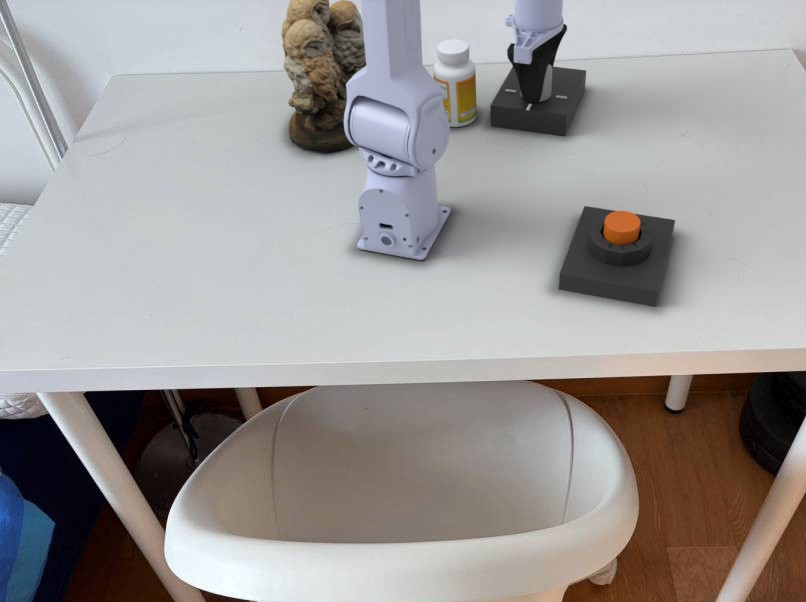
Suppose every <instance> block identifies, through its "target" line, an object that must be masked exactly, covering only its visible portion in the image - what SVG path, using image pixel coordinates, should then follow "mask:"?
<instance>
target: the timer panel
mask: <svg viewBox="0 0 806 602" xmlns="http://www.w3.org/2000/svg"><path fill="white" fill-rule="evenodd" d="M586 79H587V70H586V69H578V68H569V67H561V66H553V70H552V88H551V96H550V98H548V99H547V100H544V101H540V102H538V103H534V102H526V101H523V98H522V97H521V95H520V86H519V81H518V78H517V74H516V72H515V69H514V67H513V66H512V67H511V69H510V70H509V72H508V73H507V75H506V77H505V79H504V81H503V83H502V84H501V86H500V87H499V90H498V91H497V93H496V94H495V97H494V98H493V100H492V101H491V103H490V105H489V107H490V108H489V109H490V110H489V111H490V113H489V114H490V127H493V128H494V127H495V128H501V129H510V130H516V131H524V132H530V133H538V134H544V135H553V136H560V137H566V136H567V133H568V131H569V129H570V126H571V123H572V122H573V119H574V117H575V115H576V112H577V110H578V108H579V105H580V104H581V101H582V98H583V96H584V94H585V92H586V91H585V90H586V82H587V81H586Z"/></svg>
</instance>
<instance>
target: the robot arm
mask: <svg viewBox="0 0 806 602" xmlns="http://www.w3.org/2000/svg"><path fill="white" fill-rule="evenodd" d="M360 6H361V8H360V9H361V19H362V21H363V32H364V43H365V55H366V66H365V67H364V68H362V69H361V70H359V71H358V72H357V73H355V74H354V75H353V76H352V78H351V79H350V80H349V81H348V82H347V84H346V89H347V104H346V109H345V113H344V130H345V134H346V136H347V138H348V140H349V141H350V142H351V143H352V144H353V145H352V146H356V147H358V152H359V157H360V158H362V159H363V160H364V161H365V165H366V180H365V184H364V187H363V189H362V191H361V193H360V195H359V198H358V202H357V208H358V214H359V221H360V226H361V233H362V235H361V237H360V239H359V241H358V242H357V244H356V246H357V248H358V249H359V250H363V251H369V252H374V253H380V254H386V255H390V256H396V257H402V258H406V259H413V260H418V261H423V260H425V259H426V258H427V256H428V254H429V252H430V251H431V248H432V247H433V246H434V243H435V242H436V239H437V237H438V236H439V235H440V233H441V230H442V228H443V226H444V225H445V223H446V221H447V219H448V218H449V216H450V214H451V211H452V210H451V207H449V206H446V205H439V203H438V193H437V192H438V191H437V178H436V164H437V163H438V162H439V161H440V159H441V158H442V157H443V156H444V153H445V152H446V149H447V148H448V147H447V146H448V144H449V140H450V132H451V129H450V128H451V127H449V120H448V116H447V114H446V112H445V109H444V105H443V91H442V89H441V88H440V86H439V85H438V84H437V83H436V81H435V80H434V77H433V76H432V74H431V73H429V72H428V70H427V69H426V67H425V66H424V64H423V45H422V17H421V12H422V11H421V0H360ZM563 7H564V0H514V13H510V14H508V15H507V16H506V18H505V19H504V25H505V26H506V27H508V28H512V29H513V35H514V42H513V43H512V42H511V43H510V44H509V46H508V47H507V49H506V53H507V54H506V55H507V59H508V61H509V63H510V64H511V65H512V67H514V69H515V72H516V74H517V78H518V81H519V86H520V90H521V95H522V98H523V101H526V102H534V103H538V102H539V101H540V98H541V95H542V91H543V85H544V79H545V75H546V71H547V68H548V65H549V64H550V65H551V66H552V70H553V67H554V65H555V61H556V57H557V53H558V50H559V48H560V44H561V42H562V40H563V38H564V36H565V35H566V32H567V31H568V25H567V24H565V23H564V22H565V21H564V16H563V10H564V9H563Z"/></svg>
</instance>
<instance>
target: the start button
mask: <svg viewBox="0 0 806 602" xmlns="http://www.w3.org/2000/svg"><path fill="white" fill-rule="evenodd" d="M614 211H615V212H612V213H610V214H609V215H607V217H606V218H605V223H604V232H603V235H604V237H605V239H606V240H607V241H609V242H611V243H612V244H619V245H627V244H632V243H634V242H635V241H636V240H637V239H638V236H639V230H640V219H639V218H638V216H636V215H635V214H636V213H633V212H632V211H628V210H614Z"/></svg>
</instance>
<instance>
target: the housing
mask: <svg viewBox="0 0 806 602" xmlns="http://www.w3.org/2000/svg"><path fill="white" fill-rule="evenodd" d="M615 211H616V210H614V209H606V208H600V207H593V206H588V205H584V206H583V209H582V212H581V215H580V217H579V220H578V221H577V225H576V228H575V229H574V230H575V231H574V232H573V235H572V239H571V241H570V245H569V247H568V249H567V253H566V254H565V255H566V256H565V257H564V260H563V263H562V266H561V269H560V272H559V276H558V277H559V278H558V290H560V291H566V292H572V293H578V294H583V295H587V296H593V297H598V298H604V299H610V300H615V301H621V302H626V303H631V304H636V305H643V306H648V307H654V308H655V307H657V302H658V300H659V299H658V298H659V295H660V289H661V287H662V286H661V285H662V281H663V277H664V273H665V268H666V264H667V261H668V256H669V251H670V247H671V243H672V239H673V234H674V230H675V224H676V220H675V219H671V218H665V217H659V216H652V215H645V214H638V213H634V214H635V215H636V216H638V218H639V219H640V230H639V236H638V239H637V240H636V241H635V242H634V243H632V244H627V245H619V244H612V243H611V242H609V241H607V240H606V239H605V237H604V235H603V232H604V223H605V218H606V217H607V215H609V214H610V213H612V212H615Z"/></svg>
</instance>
